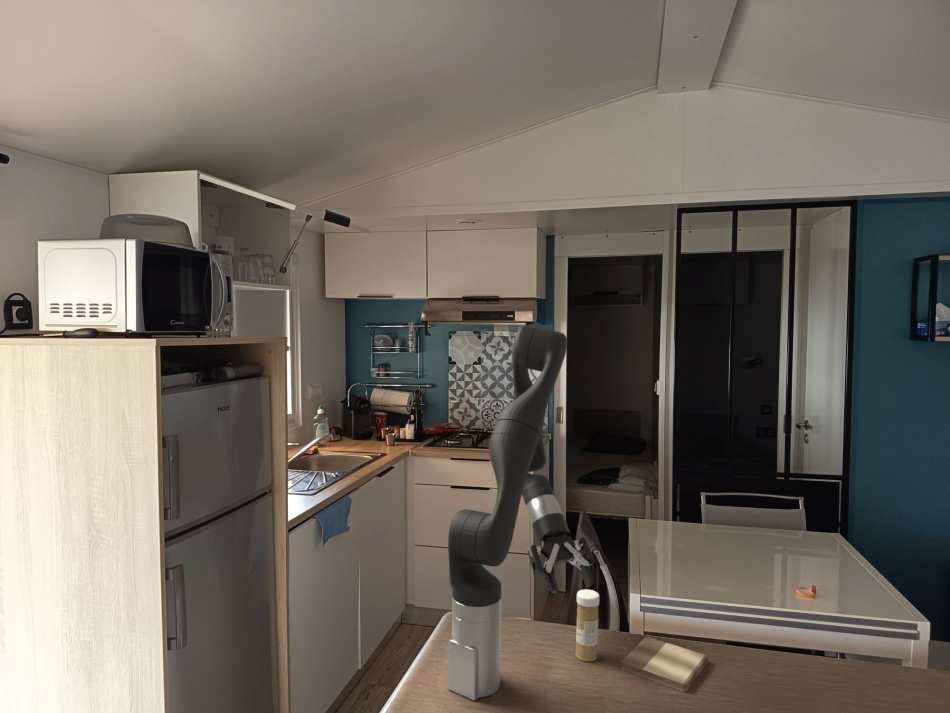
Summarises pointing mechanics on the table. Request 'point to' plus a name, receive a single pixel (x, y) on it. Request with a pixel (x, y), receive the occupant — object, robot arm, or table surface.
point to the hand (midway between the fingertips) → (573, 588)
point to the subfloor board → (665, 663)
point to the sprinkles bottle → (587, 625)
